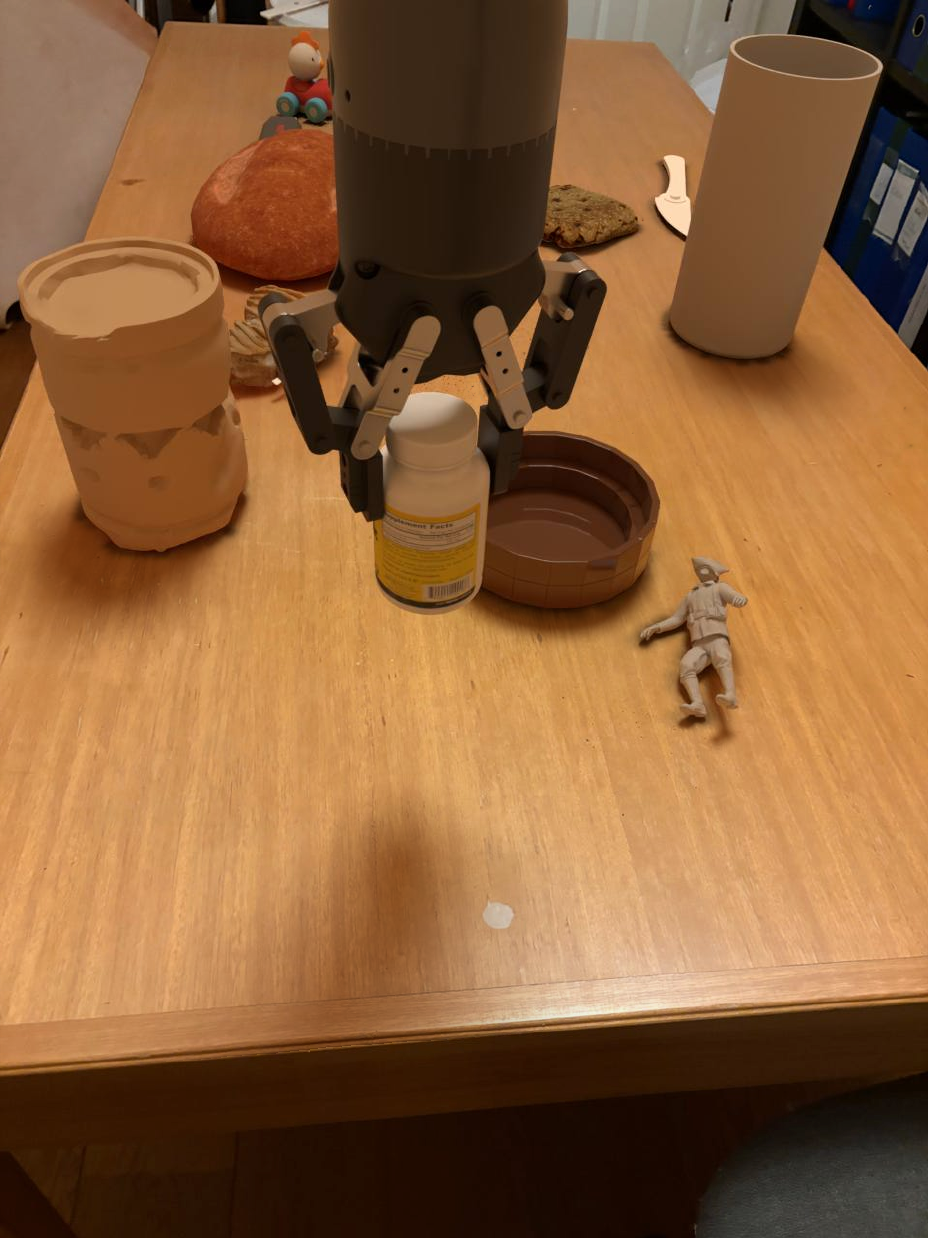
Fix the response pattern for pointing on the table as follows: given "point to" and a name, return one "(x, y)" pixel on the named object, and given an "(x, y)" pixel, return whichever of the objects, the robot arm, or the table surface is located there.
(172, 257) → the container
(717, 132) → the cylinder vase
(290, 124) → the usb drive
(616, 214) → the pastry
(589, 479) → the bowl
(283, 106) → the toy car
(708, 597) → the soldier figure
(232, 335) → the fossil
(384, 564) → the supplement bottle
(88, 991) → the table surface
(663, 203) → the knife
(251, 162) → the bread
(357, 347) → the robot arm
